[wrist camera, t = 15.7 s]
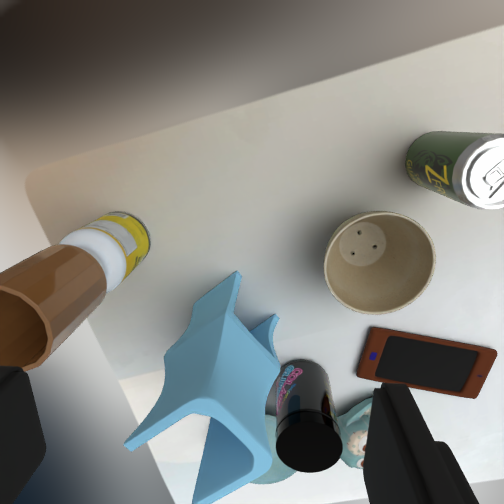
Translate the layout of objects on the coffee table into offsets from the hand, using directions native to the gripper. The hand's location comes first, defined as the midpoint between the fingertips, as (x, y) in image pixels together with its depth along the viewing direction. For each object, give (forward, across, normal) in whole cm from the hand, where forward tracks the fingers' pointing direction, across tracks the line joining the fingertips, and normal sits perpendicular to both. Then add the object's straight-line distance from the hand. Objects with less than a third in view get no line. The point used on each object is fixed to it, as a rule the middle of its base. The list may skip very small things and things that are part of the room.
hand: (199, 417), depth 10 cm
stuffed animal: (+31, -15, +30) cm, 46 cm away
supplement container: (+31, -6, +24) cm, 39 cm away
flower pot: (+31, -12, +5) cm, 34 cm away
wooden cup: (+19, +15, +5) cm, 25 cm away
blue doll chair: (+31, +3, +14) cm, 34 cm away
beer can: (+31, -17, -4) cm, 36 cm away
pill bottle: (+31, +15, +5) cm, 35 cm away
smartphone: (+31, -20, +20) cm, 42 cm away
